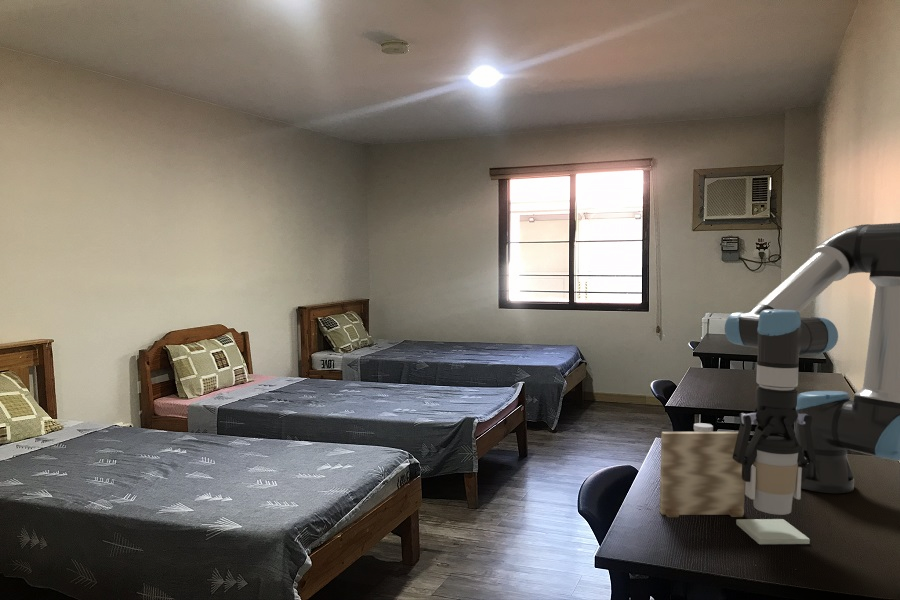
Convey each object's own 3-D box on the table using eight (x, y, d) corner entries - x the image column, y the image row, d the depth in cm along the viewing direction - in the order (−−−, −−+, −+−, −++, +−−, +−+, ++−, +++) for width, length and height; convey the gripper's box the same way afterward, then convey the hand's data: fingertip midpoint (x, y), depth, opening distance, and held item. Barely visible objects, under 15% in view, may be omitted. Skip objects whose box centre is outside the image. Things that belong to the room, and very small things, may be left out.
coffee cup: (803, 518, 131) (806, 442, 130) (753, 514, 132) (756, 440, 131) (789, 502, 139) (792, 431, 138) (743, 498, 141) (745, 428, 140)
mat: (783, 523, 141) (783, 519, 141) (809, 543, 131) (809, 538, 131) (736, 524, 141) (736, 519, 141) (759, 544, 131) (759, 539, 131)
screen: (737, 509, 149) (740, 429, 148) (746, 516, 145) (749, 435, 144) (657, 509, 149) (659, 430, 148) (664, 517, 145) (666, 435, 144)
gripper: (818, 383, 138) (813, 490, 140) (716, 382, 138) (712, 490, 139) (840, 390, 131) (835, 503, 132) (732, 389, 130) (728, 503, 132)
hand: (772, 496), depth 136 cm, fingers closed on coffee cup, 8 cm apart
